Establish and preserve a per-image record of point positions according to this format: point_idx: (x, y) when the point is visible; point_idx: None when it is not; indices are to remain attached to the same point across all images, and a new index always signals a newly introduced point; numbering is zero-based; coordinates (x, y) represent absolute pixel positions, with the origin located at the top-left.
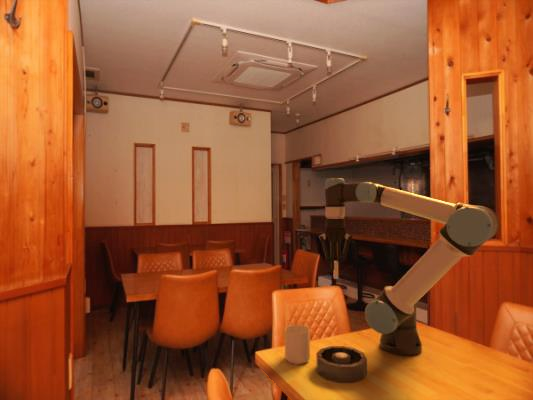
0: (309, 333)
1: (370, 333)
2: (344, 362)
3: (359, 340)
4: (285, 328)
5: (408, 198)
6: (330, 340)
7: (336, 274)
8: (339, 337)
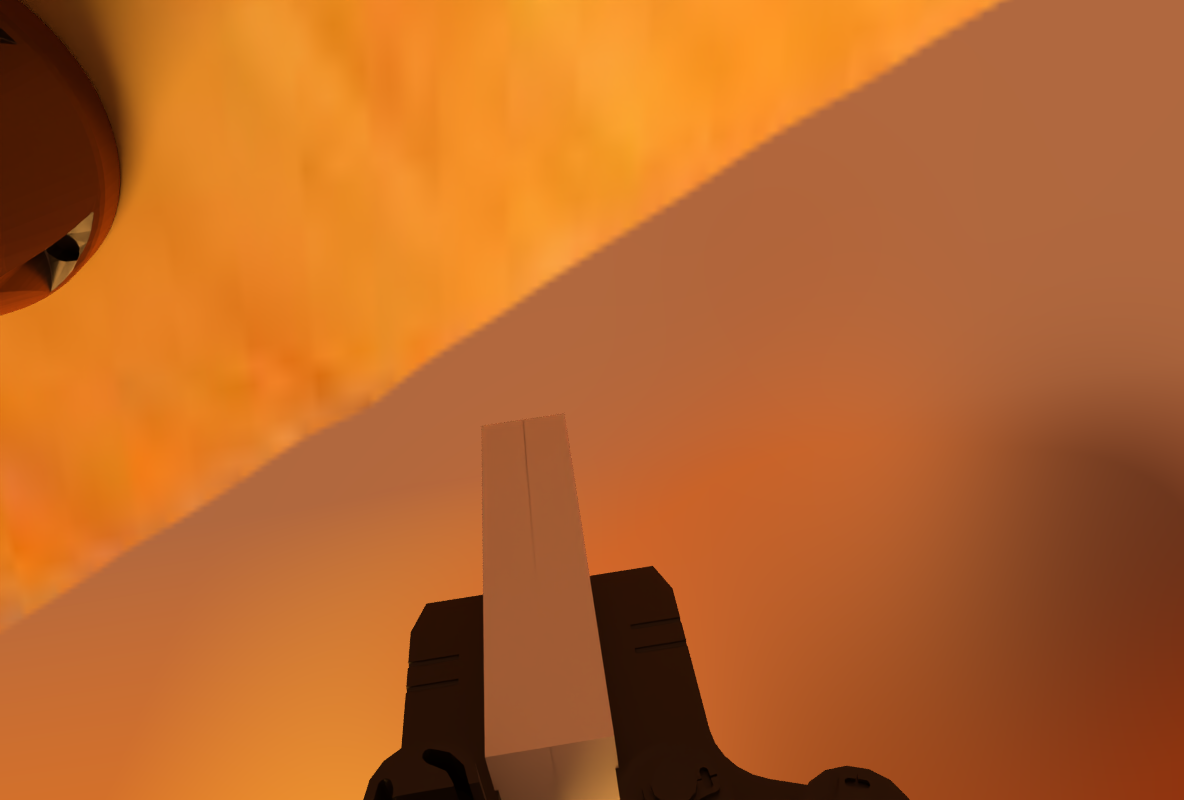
0: None
1: (229, 401)
2: None
3: (308, 248)
4: None
5: None
6: (552, 215)
7: (526, 482)
8: (477, 287)
